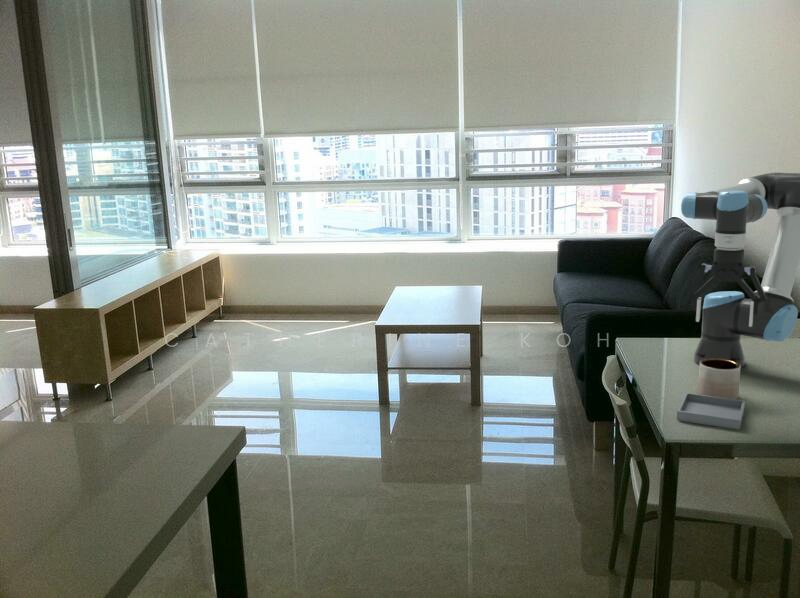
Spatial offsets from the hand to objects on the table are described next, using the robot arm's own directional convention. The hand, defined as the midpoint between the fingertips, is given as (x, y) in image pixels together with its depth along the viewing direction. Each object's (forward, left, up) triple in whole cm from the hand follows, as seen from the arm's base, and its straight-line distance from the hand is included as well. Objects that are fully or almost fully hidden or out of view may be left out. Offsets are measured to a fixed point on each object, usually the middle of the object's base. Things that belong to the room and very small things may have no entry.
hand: (723, 323), depth 207 cm
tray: (+16, 0, -22) cm, 27 cm away
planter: (0, 0, -22) cm, 22 cm away
